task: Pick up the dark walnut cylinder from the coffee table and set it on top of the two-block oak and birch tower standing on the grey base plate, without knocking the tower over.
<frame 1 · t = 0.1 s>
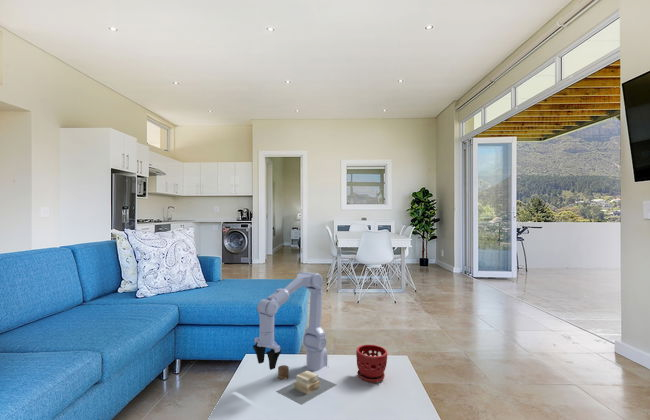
hand: (266, 365, 132), 10 cm above the table, tool pointing down, fingers open, 7 cm apart
walnut cylinder: (283, 379, 142), on the table
oak bottom block: (307, 387, 133), point 1 cm above the table, touching birch top block, grey base plate
plant pot: (371, 378, 144), on the table
birch top block: (307, 381, 133), point 3 cm above the table, touching oak bottom block
grey base plate: (307, 390, 133), on the table
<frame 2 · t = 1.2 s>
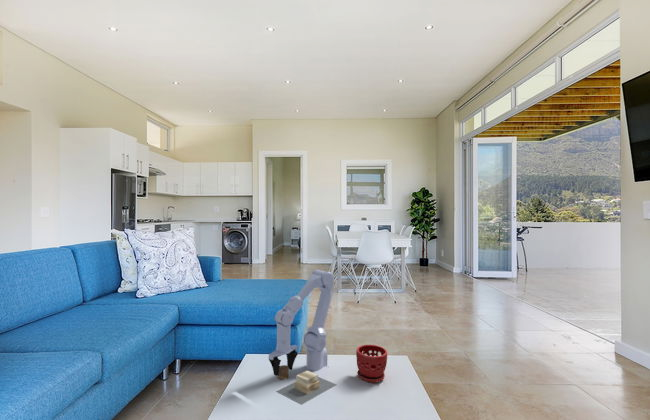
hand: (283, 372, 142), 3 cm above the table, tool pointing down, fingers open, 7 cm apart
nothing on the table moved.
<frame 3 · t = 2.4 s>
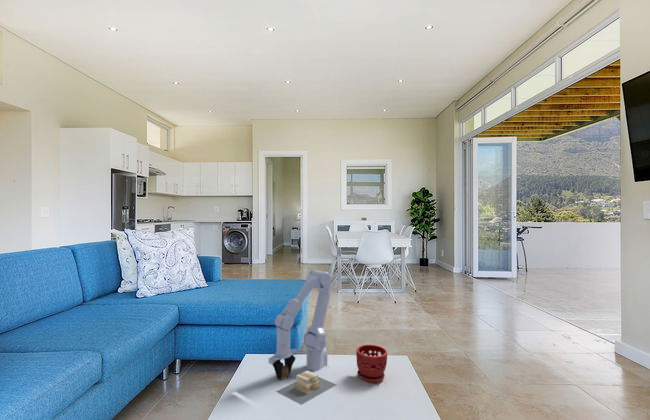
hand: (283, 376, 142), 1 cm above the table, tool pointing down, fingers closed on walnut cylinder, 4 cm apart
walnut cylinder: (283, 379, 142), on the table, touching gripper
everything else where it was.
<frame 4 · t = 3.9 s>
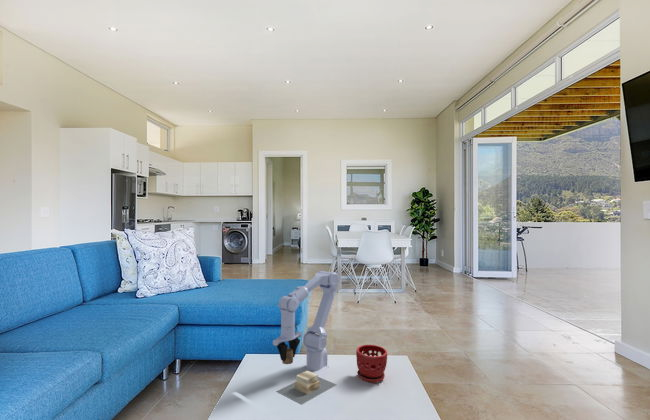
hand: (287, 358, 141), 9 cm above the table, tool pointing down, fingers closed on walnut cylinder, 4 cm apart
walnut cylinder: (287, 362, 141), point 8 cm above the table, touching gripper
everything else where it was.
when the fingers open (8 cm above the table, at t = 5.7 s): walnut cylinder stays where it is, resting on birch top block.
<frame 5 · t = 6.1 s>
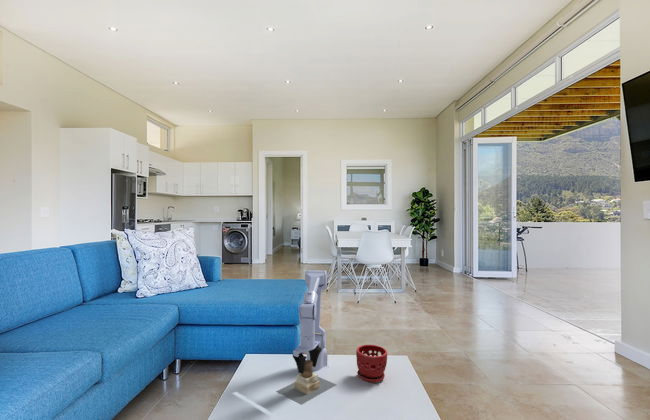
hand: (307, 369, 133), 8 cm above the table, tool pointing down, fingers open, 7 cm apart
walnut cylinder: (306, 375, 133), point 6 cm above the table, touching birch top block
birch top block: (307, 381, 133), point 3 cm above the table, touching oak bottom block, walnut cylinder
everything else where it was.
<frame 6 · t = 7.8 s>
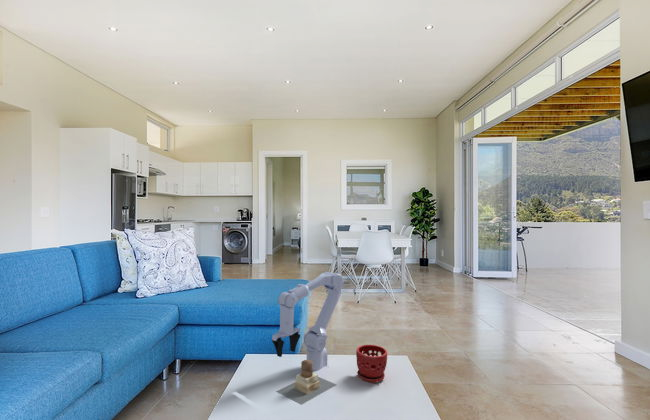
hand: (286, 353, 144), 10 cm above the table, tool pointing down, fingers open, 7 cm apart
nothing on the table moved.
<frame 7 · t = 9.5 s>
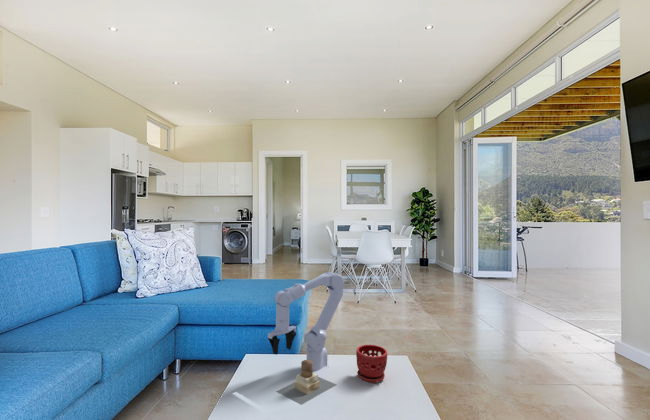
hand: (282, 351, 146), 10 cm above the table, tool pointing down, fingers open, 7 cm apart
nothing on the table moved.
at the end: walnut cylinder 0.1 cm off-centre on the birch top block, point 2.5 cm above the birch top block's base; birch top block moved 0.0 cm from its start; walnut cylinder tilted 0° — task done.
